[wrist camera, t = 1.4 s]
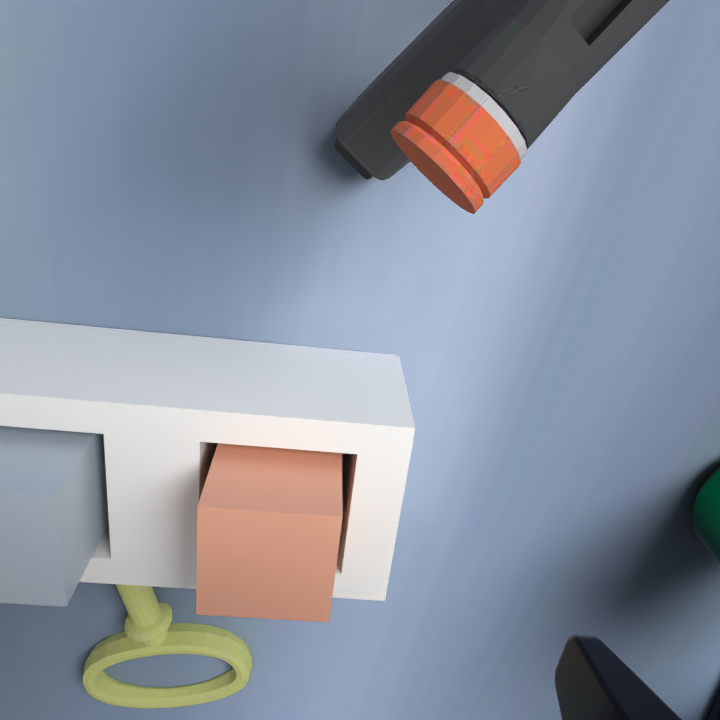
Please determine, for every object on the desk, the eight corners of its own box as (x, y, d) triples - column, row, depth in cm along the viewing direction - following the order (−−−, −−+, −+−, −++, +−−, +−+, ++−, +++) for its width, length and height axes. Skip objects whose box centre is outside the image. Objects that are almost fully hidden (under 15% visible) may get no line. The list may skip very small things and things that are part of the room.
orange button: (330, 515, 21) (329, 622, 17) (224, 507, 21) (196, 614, 17) (341, 424, 20) (342, 516, 16) (227, 414, 20) (197, 506, 15)
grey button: (120, 500, 21) (66, 607, 17) (8, 491, 21) (-76, 598, 16) (116, 405, 19) (55, 496, 15) (-5, 395, 19) (-101, 484, 15)
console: (376, 503, 25) (385, 600, 20) (-6, 475, 23) (-88, 571, 19) (398, 355, 22) (415, 428, 17) (-29, 315, 21) (-132, 382, 16)
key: (118, 464, 24) (99, 499, 22) (271, 666, 29) (266, 709, 27) (-35, 530, 25) (-66, 569, 23) (137, 714, 30) (123, 759, 28)
